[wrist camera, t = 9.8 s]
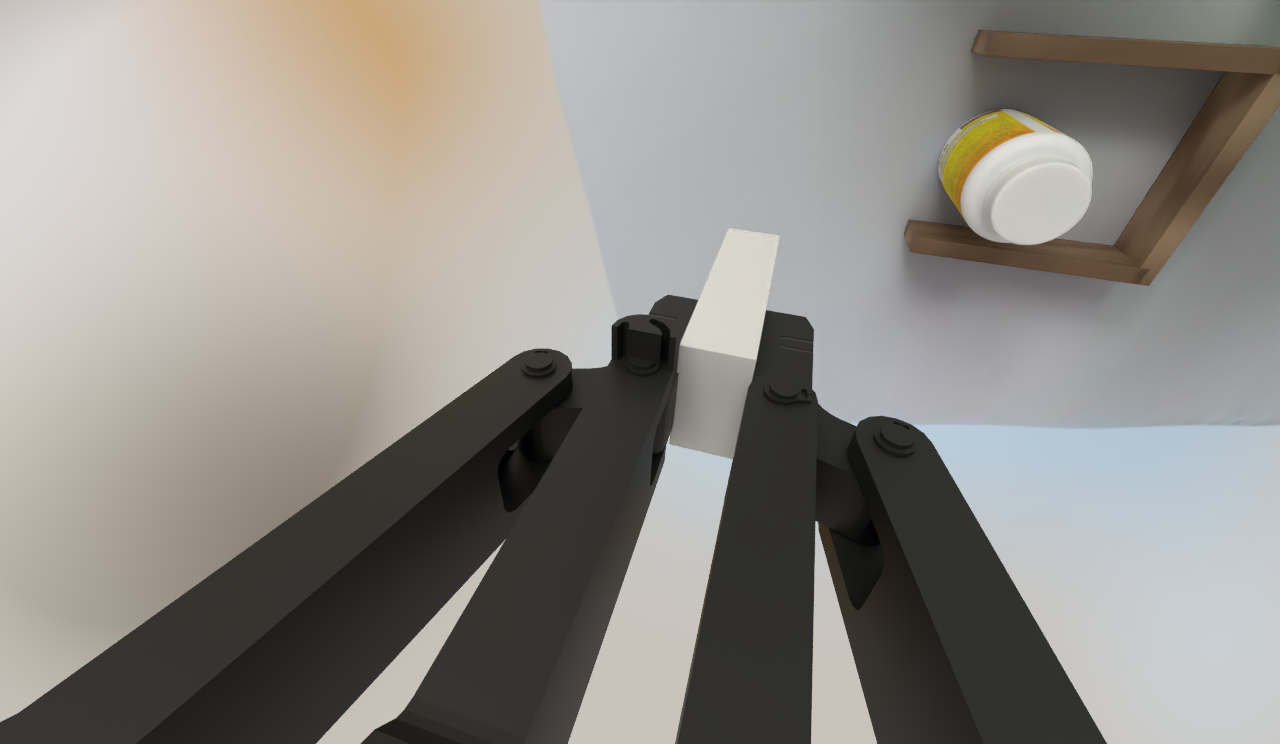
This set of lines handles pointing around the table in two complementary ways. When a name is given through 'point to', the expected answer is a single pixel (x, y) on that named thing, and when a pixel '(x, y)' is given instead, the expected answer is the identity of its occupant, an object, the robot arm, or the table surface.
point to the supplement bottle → (1016, 177)
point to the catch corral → (1180, 188)
